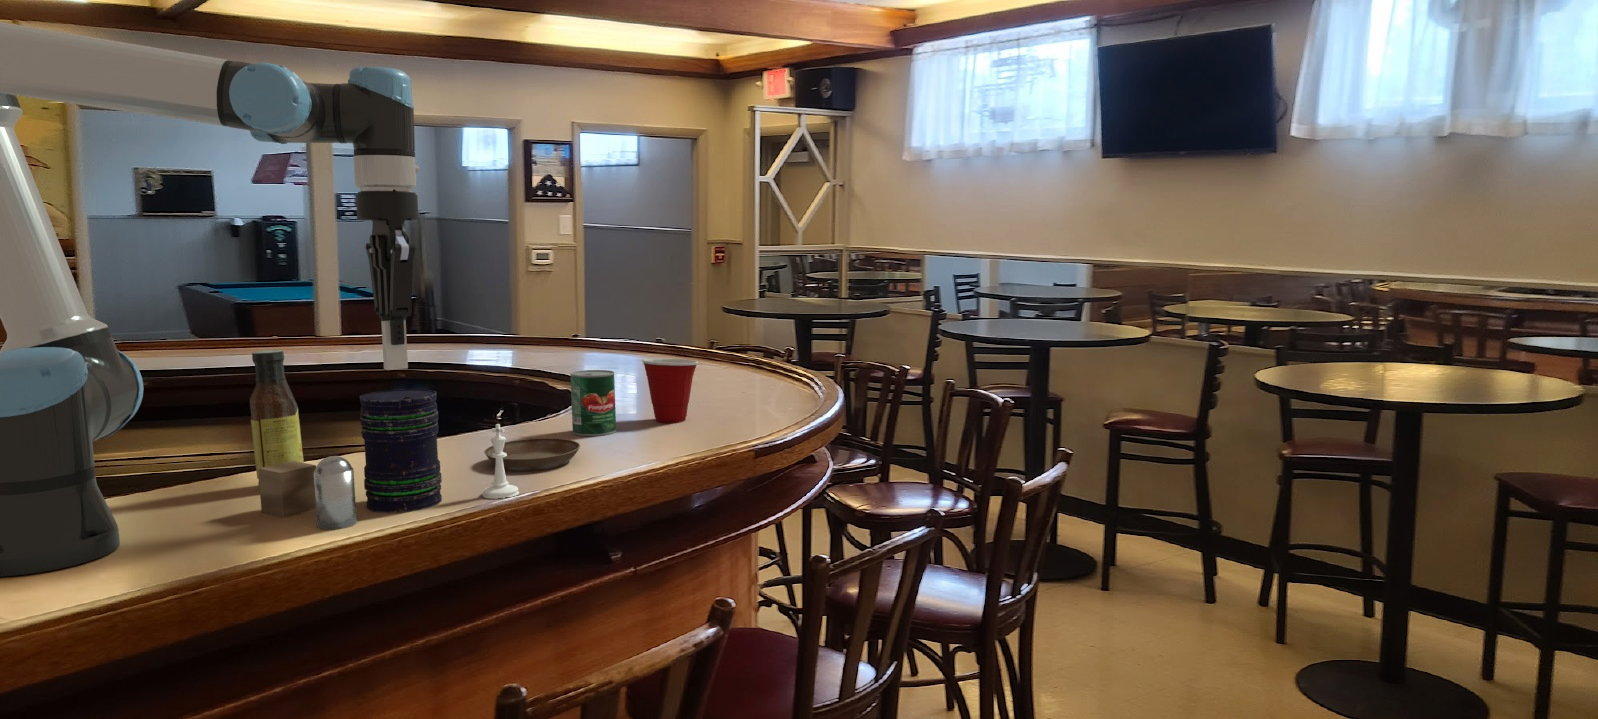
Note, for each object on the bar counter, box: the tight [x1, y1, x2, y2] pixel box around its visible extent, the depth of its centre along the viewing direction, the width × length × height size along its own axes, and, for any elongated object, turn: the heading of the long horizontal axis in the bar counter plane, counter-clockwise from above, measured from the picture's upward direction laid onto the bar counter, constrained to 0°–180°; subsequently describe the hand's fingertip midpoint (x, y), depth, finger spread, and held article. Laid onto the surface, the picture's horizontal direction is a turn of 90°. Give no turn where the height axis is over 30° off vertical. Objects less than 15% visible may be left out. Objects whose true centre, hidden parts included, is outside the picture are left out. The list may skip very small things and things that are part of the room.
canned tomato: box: [569, 369, 617, 437], centre depth 189 cm, size 8×8×11 cm
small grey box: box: [258, 461, 317, 519], centre depth 138 cm, size 5×5×6 cm
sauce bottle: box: [249, 349, 305, 488], centre depth 150 cm, size 7×6×20 cm
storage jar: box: [359, 388, 443, 514], centre depth 141 cm, size 10×10×15 cm
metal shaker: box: [313, 455, 358, 531], centre depth 131 cm, size 5×5×9 cm
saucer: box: [483, 437, 581, 472], centre depth 166 cm, size 15×15×3 cm
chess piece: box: [482, 423, 520, 500], centre depth 145 cm, size 5×5×10 cm
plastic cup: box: [641, 358, 699, 424], centre depth 200 cm, size 11×11×12 cm
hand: (395, 368), depth 139 cm, fingers closed
